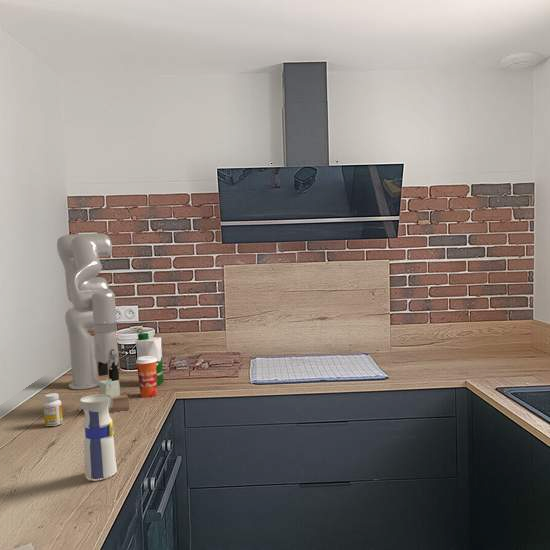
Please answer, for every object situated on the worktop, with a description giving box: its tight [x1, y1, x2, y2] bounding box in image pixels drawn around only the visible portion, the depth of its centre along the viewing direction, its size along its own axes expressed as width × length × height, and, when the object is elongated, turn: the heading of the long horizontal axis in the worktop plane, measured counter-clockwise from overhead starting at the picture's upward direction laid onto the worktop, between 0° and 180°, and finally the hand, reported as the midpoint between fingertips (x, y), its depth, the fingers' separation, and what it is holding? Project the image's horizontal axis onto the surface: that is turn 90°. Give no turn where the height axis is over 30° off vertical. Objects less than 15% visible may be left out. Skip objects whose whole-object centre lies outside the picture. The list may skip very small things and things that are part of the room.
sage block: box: [98, 379, 121, 397], centre depth 209 cm, size 5×5×5 cm
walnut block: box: [109, 390, 130, 414], centre depth 210 cm, size 10×10×5 cm
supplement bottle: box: [43, 392, 64, 426], centre depth 195 cm, size 5×5×10 cm
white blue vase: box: [78, 376, 118, 479], centre depth 152 cm, size 8×8×25 cm
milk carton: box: [134, 332, 164, 386], centre depth 242 cm, size 9×9×20 cm
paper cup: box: [135, 356, 158, 398], centre depth 225 cm, size 8×8×14 cm
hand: (108, 377), depth 210 cm, fingers open, 9 cm apart
